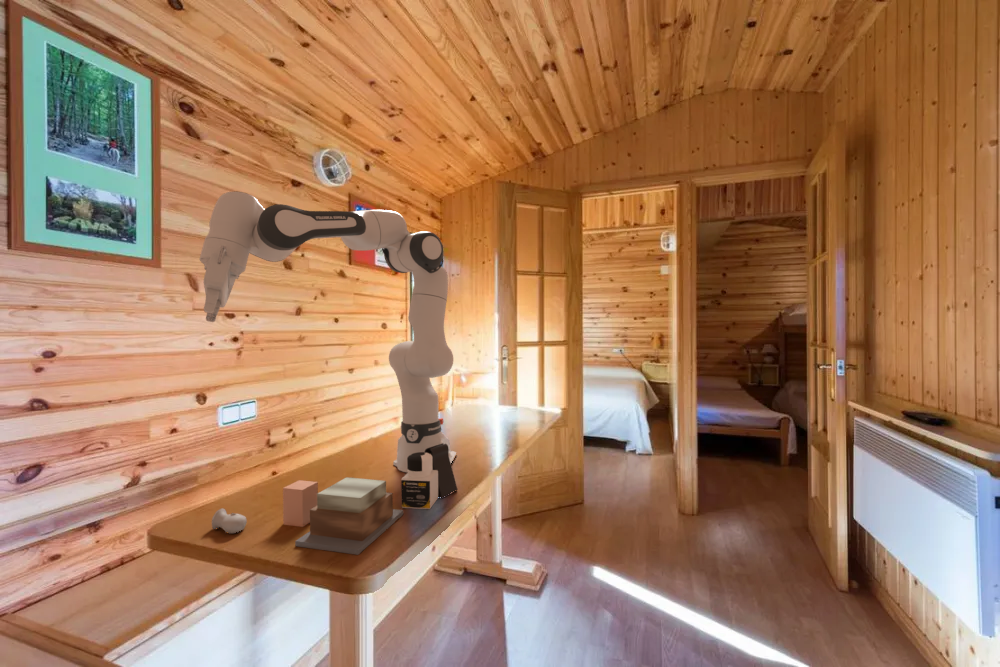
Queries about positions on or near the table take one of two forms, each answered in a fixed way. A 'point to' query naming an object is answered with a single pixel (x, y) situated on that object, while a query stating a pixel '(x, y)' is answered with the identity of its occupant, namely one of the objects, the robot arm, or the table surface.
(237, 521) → the smooth white sculpture
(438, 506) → the table surface
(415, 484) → the medicine bottle
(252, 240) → the robot arm
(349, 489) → the brick tower
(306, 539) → the base plate
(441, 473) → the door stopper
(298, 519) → the terracotta brick
